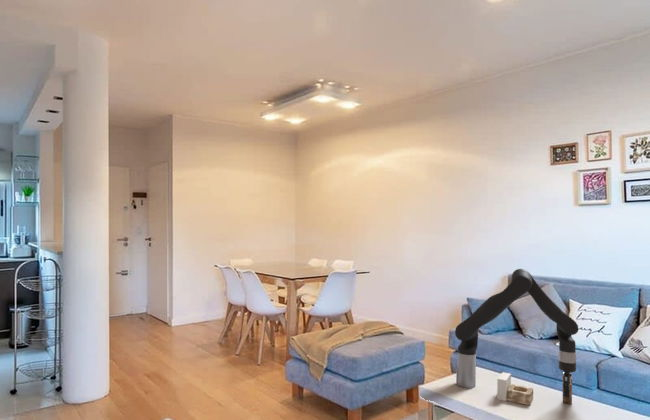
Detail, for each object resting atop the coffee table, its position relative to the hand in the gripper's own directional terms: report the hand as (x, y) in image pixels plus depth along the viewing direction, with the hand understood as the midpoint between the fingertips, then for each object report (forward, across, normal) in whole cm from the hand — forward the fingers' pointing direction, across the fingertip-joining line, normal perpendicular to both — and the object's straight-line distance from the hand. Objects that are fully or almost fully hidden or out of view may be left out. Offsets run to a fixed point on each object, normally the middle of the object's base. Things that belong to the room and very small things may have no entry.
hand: (567, 394), depth 216 cm
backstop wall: (+4, -10, +27) cm, 29 cm away
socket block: (+4, -10, +20) cm, 22 cm away
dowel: (+4, 0, 0) cm, 4 cm away
